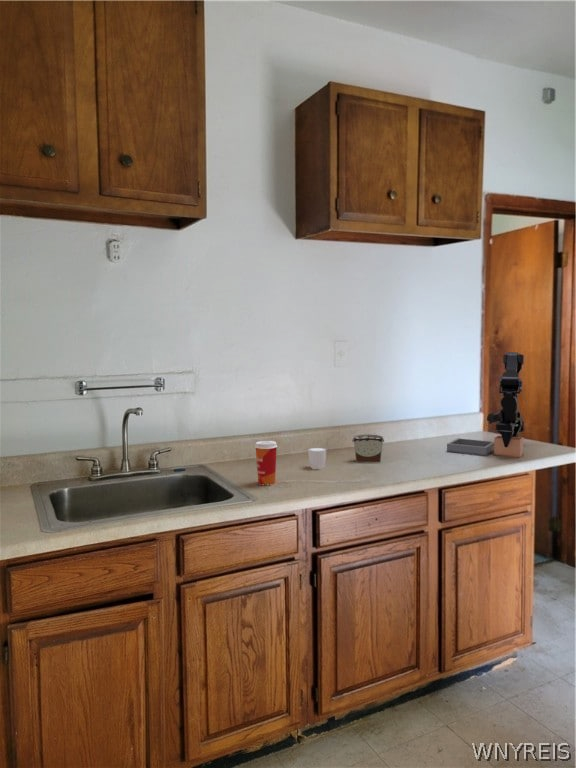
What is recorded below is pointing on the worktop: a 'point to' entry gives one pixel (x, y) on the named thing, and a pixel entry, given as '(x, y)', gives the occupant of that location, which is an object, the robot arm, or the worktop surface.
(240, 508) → the worktop surface
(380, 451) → the food container
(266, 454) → the paper cup
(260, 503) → the worktop surface
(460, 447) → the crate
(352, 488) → the worktop surface
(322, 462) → the white ribbed cup
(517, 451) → the box
